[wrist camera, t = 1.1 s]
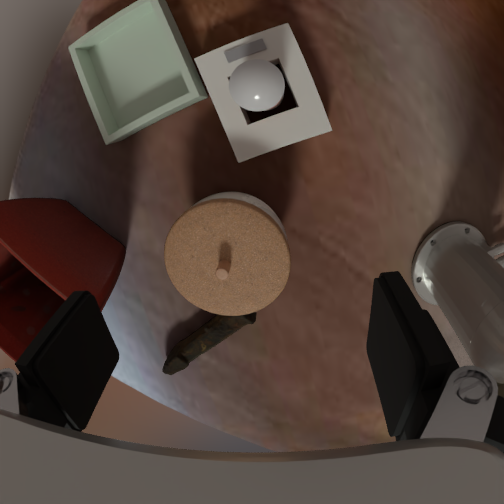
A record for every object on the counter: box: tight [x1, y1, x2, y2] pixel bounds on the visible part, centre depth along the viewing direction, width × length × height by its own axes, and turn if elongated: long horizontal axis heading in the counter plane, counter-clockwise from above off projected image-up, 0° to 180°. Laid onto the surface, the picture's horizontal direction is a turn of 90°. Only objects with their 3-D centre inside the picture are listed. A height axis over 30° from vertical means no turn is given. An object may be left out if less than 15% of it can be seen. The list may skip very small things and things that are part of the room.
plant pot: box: [0, 198, 126, 362], centre depth 35 cm, size 19×19×17 cm
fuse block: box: [194, 23, 332, 163], centre depth 30 cm, size 10×12×4 cm
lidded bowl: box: [164, 192, 291, 316], centre depth 34 cm, size 13×13×11 cm
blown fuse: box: [229, 59, 285, 111], centre depth 27 cm, size 4×4×12 cm
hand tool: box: [163, 312, 256, 375], centre depth 45 cm, size 19×4×5 cm, turn 131°
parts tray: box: [68, 0, 208, 145], centre depth 30 cm, size 12×14×4 cm
